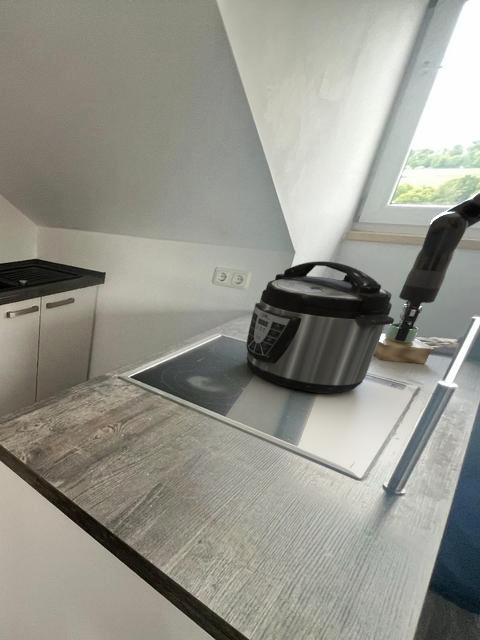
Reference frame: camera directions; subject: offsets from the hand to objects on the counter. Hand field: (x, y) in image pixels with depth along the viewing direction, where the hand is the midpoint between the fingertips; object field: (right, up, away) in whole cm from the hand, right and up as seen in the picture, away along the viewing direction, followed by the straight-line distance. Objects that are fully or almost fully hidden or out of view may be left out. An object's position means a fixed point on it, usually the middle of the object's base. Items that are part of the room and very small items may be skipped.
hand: (399, 337), depth 120 cm
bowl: (0, -1, 0) cm, 1 cm away
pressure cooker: (-40, -12, -9) cm, 42 cm away
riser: (0, -6, +2) cm, 6 cm away
